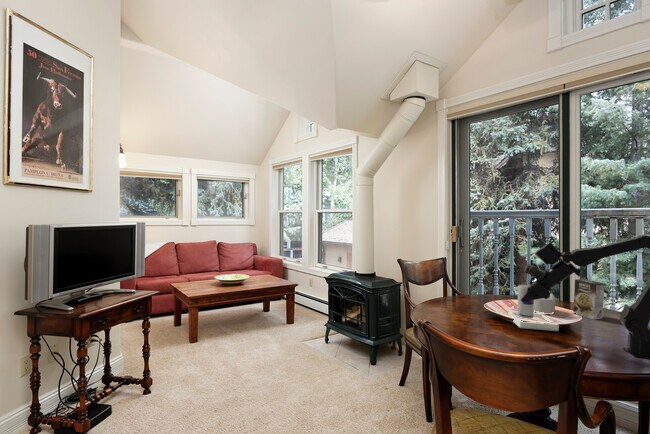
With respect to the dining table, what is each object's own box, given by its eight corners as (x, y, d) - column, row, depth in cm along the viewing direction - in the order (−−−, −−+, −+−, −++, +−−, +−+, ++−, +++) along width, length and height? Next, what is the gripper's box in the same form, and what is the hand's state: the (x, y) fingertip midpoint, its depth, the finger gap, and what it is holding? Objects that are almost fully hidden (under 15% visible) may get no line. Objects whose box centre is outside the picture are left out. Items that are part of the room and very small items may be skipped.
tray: (558, 331, 132) (558, 325, 132) (520, 328, 135) (520, 322, 135) (542, 319, 146) (543, 314, 146) (508, 316, 149) (508, 311, 149)
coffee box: (572, 313, 156) (573, 279, 155) (581, 312, 158) (583, 278, 157) (594, 319, 147) (595, 283, 146) (603, 318, 149) (605, 282, 149)
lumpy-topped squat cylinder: (552, 308, 163) (552, 291, 162) (557, 316, 151) (558, 297, 151) (527, 305, 167) (527, 288, 167) (530, 313, 155) (531, 294, 155)
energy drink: (535, 319, 126) (536, 288, 126) (519, 318, 127) (520, 287, 127) (530, 315, 131) (531, 284, 131) (515, 313, 133) (516, 284, 132)
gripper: (537, 254, 135) (506, 278, 141) (539, 261, 119) (504, 287, 125) (561, 276, 131) (527, 300, 137) (566, 285, 115) (528, 312, 121)
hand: (521, 299), depth 130 cm, fingers closed on energy drink, 5 cm apart
